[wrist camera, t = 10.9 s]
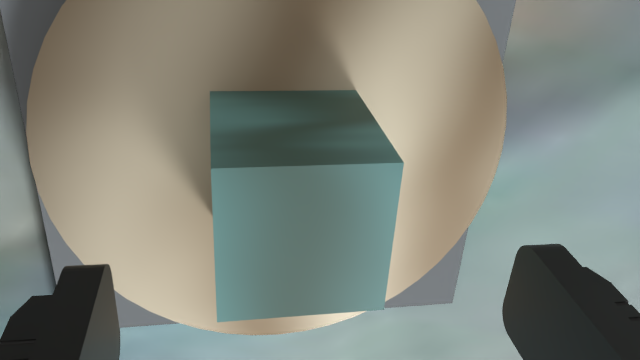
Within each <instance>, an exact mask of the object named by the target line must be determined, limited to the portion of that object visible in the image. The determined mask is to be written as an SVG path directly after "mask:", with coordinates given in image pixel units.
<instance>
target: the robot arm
mask: <svg viewBox="0 0 640 360" xmlns="http://www.w3.org/2000/svg"><path fill="white" fill-rule="evenodd" d="M503 322H504V326H505V329H506V331H507V334H508V336H509V337H510V339H511V340H512V342H513V344H514V345H515V347H516V349H517V350H518V352H519V353H520V355H521V357H522V358H523V360H640V313H639V312H638V311H637V310H636V309H635V308H634V307H633V306H632V305H629V304H628V300H627V299H626V298H625V297H624V296H623V295H622V294H621V293H620V292H619V291H618V290H617V289H616V288H615V287H614V285H613V284H612V283H611V282H609V281H608V280H606V279H604V278H603V277H601V276H600V275H598V274H597V273H595V272H593V271H592V270H590V269H589V268H587V267H582V266H581V265H580V264H579V263H578V261H577V260H576V259H575V258H574V257H573V256H572V255H571V254H570V253H569V251H568V250H567V249H566V248H565V247H564V246H562V245H560V244H545V245H524V246H522V247H520V249H519V250H518V252H517V254H516V257H515V261H514V265H513V269H512V272H511V276H510V280H509V284H508V287H507V291H506V295H505V298H504V302H503ZM119 355H120V328H119V320H118V313H117V307H116V300H115V293H114V286H113V279H112V272H111V268H110V266H109V264H96V265H74V266H65V267H64V268H63V269H62V272H61V274H60V277H59V280H58V282H57V285H56V288H55V290H54V293H53V295H44V296H32V297H31V298H30V299H29V300H28V301H27V302H26V303H25V304H24V305H23V306H21V307H20V308H19V309H18V310H17V311H16V312H15V313H14V314H13V315H12V316H11V317H10V319H9V321H8V323H7V326H6V328H5V330H4V332H3V334H2V337H1V339H0V360H119Z"/></svg>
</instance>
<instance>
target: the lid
mask: <svg viewBox="0 0 640 360" xmlns="http://www.w3.org/2000/svg"><path fill="white" fill-rule="evenodd" d="M506 107H507V95H506V86H505V77H504V69H503V65H502V61H501V57H500V54H499V50H498V46H497V42H496V39H495V37H494V35H493V32H492V30H491V28H490V25H489V23H488V21H487V18H486V16H485V14H484V12H483V10H482V9H481V7H480V5H479V4H478V2H477V1H476V0H66V1H65V2H64V4H63V5H62V6H61V8H60V10H59V12H58V14H57V15H56V17H55V19H54V21H53V23H52V25H51V26H50V28H49V30H48V32H47V34H46V36H45V37H44V40H43V43H42V46H41V49H40V52H39V54H38V57H37V60H36V63H35V66H34V68H33V73H32V78H31V84H30V89H29V94H28V100H27V124H26V135H27V143H28V151H29V159H30V165H31V168H32V172H33V175H34V179H35V182H36V186H37V189H38V193H39V195H40V197H41V199H42V202H43V204H44V206H45V208H46V210H47V213H48V215H49V217H50V219H51V221H52V222H53V224H54V225H55V227H56V229H57V230H58V232H59V233H60V235H61V236H62V238H63V240H64V241H65V243H66V244H67V245H68V246H69V248H70V249H71V250H72V251H73V252H74V253H75V255H76V256H77V257H78V258H79V259H80V260H81V262H82V263H83V264H84V265H96V264H109V266H110V268H111V272H112V279H113V286H114V290H115V291H116V292H118V293H119V294H120V295H122V296H123V297H125V298H126V299H128V300H130V301H131V302H133V303H135V304H137V305H139V306H141V307H143V308H144V309H146V310H148V311H150V312H152V313H155V314H157V315H160V316H162V317H165V318H167V319H170V320H172V321H175V322H178V323H181V324H185V325H188V326H192V327H196V328H199V329H204V330H210V331H216V332H221V333H228V334H243V335H273V334H285V333H292V332H300V331H306V330H310V329H315V328H319V327H323V326H328V325H331V324H334V323H337V322H340V321H343V320H346V319H349V318H352V317H355V316H357V315H359V314H361V313H363V312H366V311H373V310H384V305H385V302H386V301H387V300H389V299H391V298H393V297H394V296H396V295H398V294H399V293H401V292H402V291H404V290H405V289H406V288H408V287H409V286H411V285H412V284H413V283H415V282H416V281H418V280H419V279H420V278H421V277H422V276H424V275H425V274H426V273H427V272H428V271H429V270H430V269H432V268H433V267H434V266H435V265H436V264H437V263H438V262H439V261H440V260H441V259H442V258H443V257H444V256H445V255H446V254H447V253H448V252H449V250H450V249H451V248H452V247H453V246H454V245H455V244H456V243H457V241H458V240H459V239H460V237H461V236H462V235H463V233H464V232H465V231H466V229H467V228H468V226H469V225H470V224H471V222H472V221H473V219H474V217H475V215H476V214H477V212H478V210H479V208H480V207H481V205H482V203H483V201H484V200H485V197H486V195H487V193H488V190H489V188H490V186H491V183H492V181H493V179H494V176H495V173H496V169H497V166H498V163H499V159H500V156H501V152H502V147H503V141H504V134H505V128H506Z"/></svg>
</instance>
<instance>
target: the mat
mask: <svg viewBox="0 0 640 360" xmlns="http://www.w3.org/2000/svg"><path fill="white" fill-rule="evenodd" d="M65 1H66V0H0V10H1V15H2V20H3V25H4V30H5V35H6V40H7V45H8V50H9V54H10V59H11V64H12V69H13V74H14V79H15V84H16V89H17V94H18V99H19V104H20V108H21V113H22V118H23V123H24V128H25V133H26V124H27V100H28V94H29V89H30V84H31V78H32V73H33V68H34V66H35V63H36V60H37V57H38V54H39V52H40V49H41V46H42V43H43V40H44V37H45V36H46V34H47V32H48V30H49V28H50V26H51V25H52V23H53V21H54V19H55V17H56V15H57V14H58V12H59V10H60V8H61V6H62V5H63V4H64V2H65ZM476 1H477V2H478V4H479V5H480V7H481V9H482V10H483V12H484V14H485V16H486V18H487V21H488V23H489V25H490V28H491V30H492V32H493V35H494V37H495V39H496V42H497V46H498V50H499V54H500V57H501V61H502V64H503V59H504V54H505V50H506V45H507V40H508V35H509V31H510V26H511V21H512V16H513V11H514V7H515V2H516V0H476ZM26 138H27V135H26ZM36 187H37V186H36ZM37 192H38V189H37ZM38 197H39V202H40V207H41V212H42V217H43V221H44V226H45V231H46V236H47V241H48V246H49V251H50V256H51V261H52V266H53V271H54V276H55V280H56V285H57V282H58V280H59V277H60V274H61V272H62V269H63V268H64V267H65V266H74V265H84V264H83V263H82V262H81V260H80V259H79V258H78V257H77V256H76V255H75V253H74V252H73V251H72V250H71V249H70V248H69V246H68V245H67V244H66V243H65V241H64V240H63V238H62V236H61V235H60V233H59V232H58V230H57V229H56V227H55V225H54V224H53V222H52V221H51V219H50V217H49V215H48V213H47V210H46V208H45V206H44V204H43V202H42V199H41V197H40V195H39V193H38ZM467 231H468V228H467V229H466V231H465V232H464V233H463V235H462V236H461V237H460V239H459V240H458V241H457V243H456V244H455V245H454V246H453V247H452V248H451V249H450V250H449V252H448V253H447V254H446V255H445V256H444V257H443V258H442V259H441V260H440V261H439V262H438V263H437V264H436V265H435V266H434V267H433V268H432V269H430V270H429V271H428V272H427V273H426V274H425V275H424V276H422V277H421V278H420V279H419V280H418V281H416V282H415V283H413V284H412V285H411V286H409V287H408V288H406V289H405V290H404V291H402V292H401V293H399V294H398V295H396V296H394V297H393V298H391V299H389V300H387V301H386V302H385V305H384V308H392V307H405V306H419V305H432V304H446V303H452V302H453V297H454V293H455V288H456V283H457V278H458V274H459V269H460V264H461V259H462V254H463V250H464V245H465V240H466V235H467ZM114 293H115V300H116V307H117V313H118V320H119V328H122V327H135V326H149V325H162V324H176V323H178V322H175V321H172V320H170V319H167V318H165V317H162V316H160V315H157V314H155V313H152V312H150V311H148V310H146V309H144V308H143V307H141V306H139V305H137V304H135V303H133V302H131V301H130V300H128V299H126V298H125V297H123V296H122V295H120V294H119V293H118V292H116V291H115V290H114Z"/></svg>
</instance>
